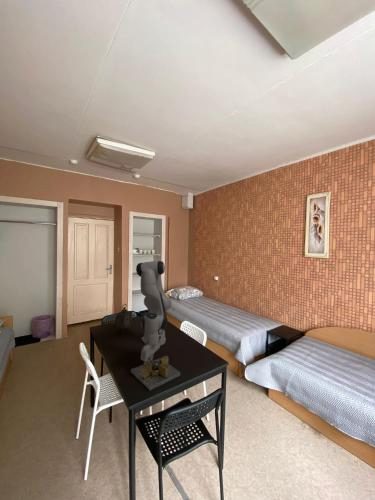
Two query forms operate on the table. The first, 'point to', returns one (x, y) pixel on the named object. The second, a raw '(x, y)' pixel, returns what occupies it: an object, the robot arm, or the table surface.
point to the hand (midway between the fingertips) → (150, 360)
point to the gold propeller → (161, 371)
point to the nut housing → (157, 380)
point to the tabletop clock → (124, 319)
